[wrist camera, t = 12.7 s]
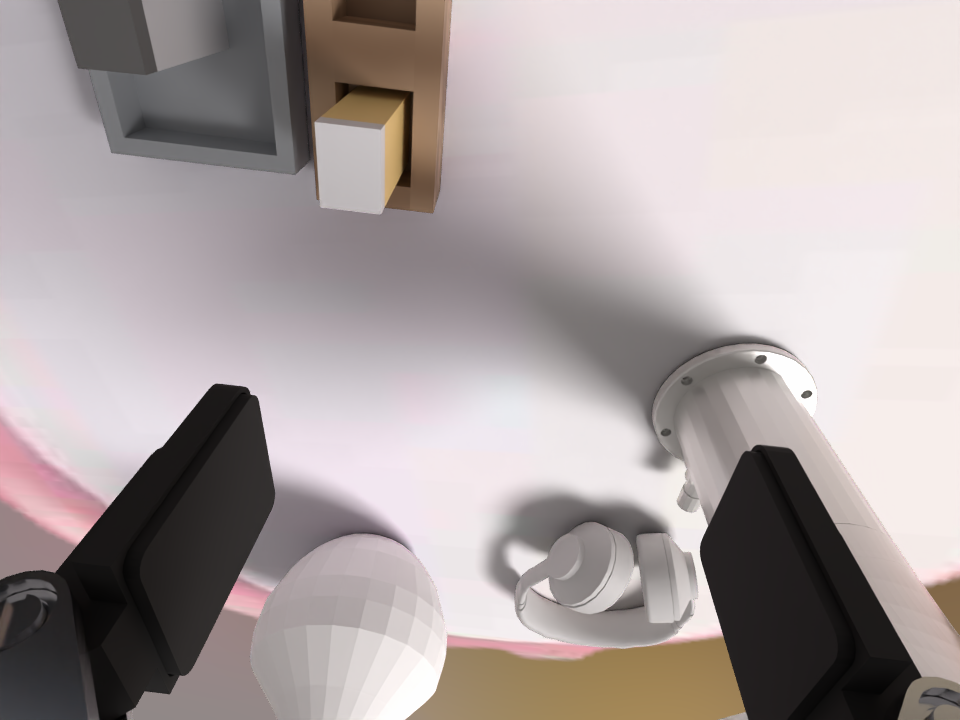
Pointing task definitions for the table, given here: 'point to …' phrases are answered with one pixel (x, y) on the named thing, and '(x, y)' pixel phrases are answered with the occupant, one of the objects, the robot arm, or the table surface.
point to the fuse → (362, 149)
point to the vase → (351, 634)
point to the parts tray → (219, 98)
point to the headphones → (609, 589)
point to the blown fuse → (143, 33)
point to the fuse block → (386, 75)
